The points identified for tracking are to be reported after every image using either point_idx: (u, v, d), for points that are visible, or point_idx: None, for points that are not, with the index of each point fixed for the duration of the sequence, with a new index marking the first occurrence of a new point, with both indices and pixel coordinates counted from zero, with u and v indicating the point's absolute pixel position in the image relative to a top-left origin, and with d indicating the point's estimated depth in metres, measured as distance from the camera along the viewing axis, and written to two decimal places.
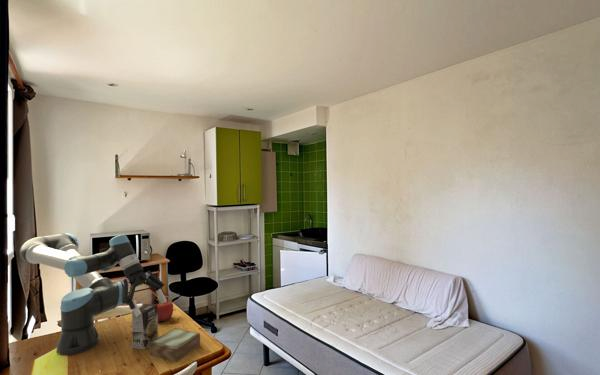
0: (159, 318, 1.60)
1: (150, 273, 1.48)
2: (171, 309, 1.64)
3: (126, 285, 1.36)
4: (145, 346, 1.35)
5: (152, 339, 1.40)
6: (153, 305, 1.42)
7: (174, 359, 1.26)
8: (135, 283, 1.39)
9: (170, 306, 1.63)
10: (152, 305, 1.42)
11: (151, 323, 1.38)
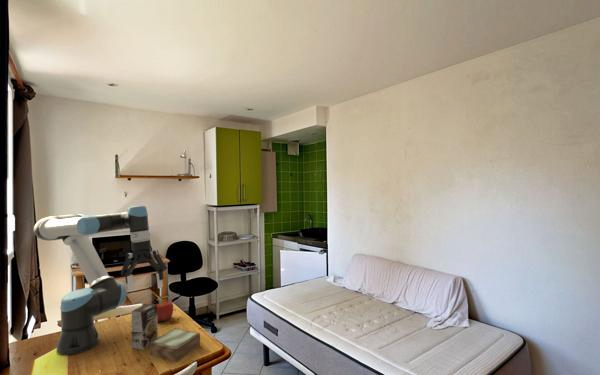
0: (159, 318, 1.60)
1: (153, 254, 1.38)
2: (171, 309, 1.64)
3: (126, 260, 1.39)
4: (144, 346, 1.35)
5: (151, 339, 1.39)
6: (153, 305, 1.42)
7: (174, 359, 1.26)
8: (133, 261, 1.39)
9: (170, 306, 1.63)
10: (152, 305, 1.42)
11: (150, 323, 1.38)
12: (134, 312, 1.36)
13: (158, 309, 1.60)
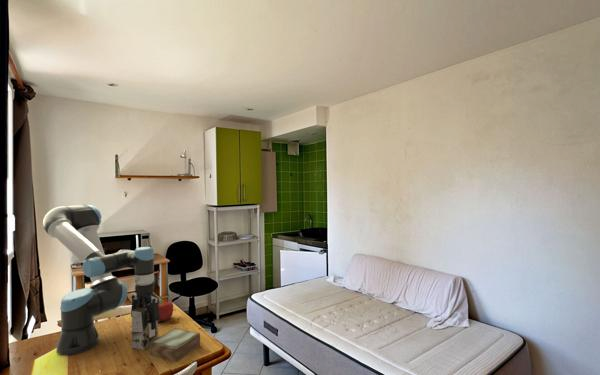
0: None
1: (152, 302, 1.36)
2: (171, 309, 1.64)
3: (132, 302, 1.40)
4: (144, 346, 1.35)
5: (151, 339, 1.39)
6: None
7: (174, 359, 1.26)
8: (137, 303, 1.39)
9: (170, 306, 1.63)
10: None
11: None
12: (134, 312, 1.36)
13: None
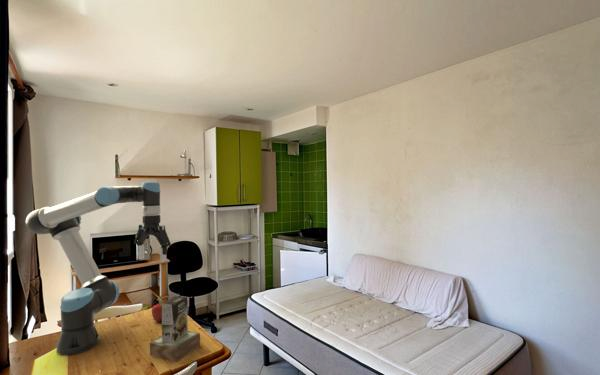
0: (159, 318, 1.60)
1: (159, 229, 1.44)
2: None
3: (138, 230, 1.49)
4: (175, 340, 1.30)
5: (182, 333, 1.34)
6: (183, 298, 1.37)
7: (174, 359, 1.26)
8: (143, 232, 1.47)
9: None
10: (182, 297, 1.37)
11: (180, 316, 1.33)
12: (164, 304, 1.30)
13: (158, 309, 1.60)
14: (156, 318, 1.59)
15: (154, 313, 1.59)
